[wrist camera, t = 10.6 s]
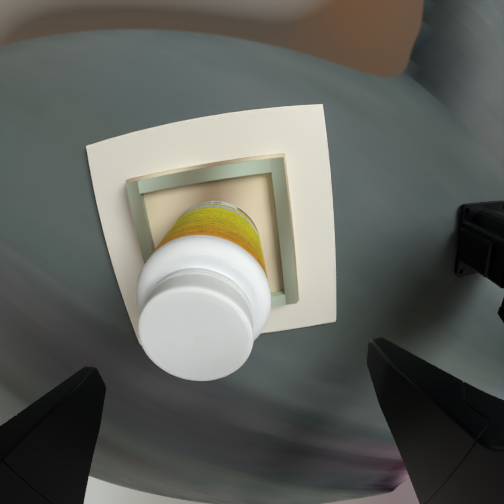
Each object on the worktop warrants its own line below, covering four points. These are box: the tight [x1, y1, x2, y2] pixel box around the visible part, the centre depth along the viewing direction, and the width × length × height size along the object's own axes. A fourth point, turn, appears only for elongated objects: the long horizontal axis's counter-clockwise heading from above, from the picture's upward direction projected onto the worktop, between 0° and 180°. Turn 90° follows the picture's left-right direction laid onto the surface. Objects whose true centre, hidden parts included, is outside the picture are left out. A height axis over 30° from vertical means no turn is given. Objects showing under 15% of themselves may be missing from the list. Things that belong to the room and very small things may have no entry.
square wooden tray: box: [126, 153, 299, 307], centre depth 19 cm, size 10×10×2 cm
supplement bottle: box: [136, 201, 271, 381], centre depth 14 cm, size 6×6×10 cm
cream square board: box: [86, 104, 336, 345], centre depth 20 cm, size 16×16×1 cm
